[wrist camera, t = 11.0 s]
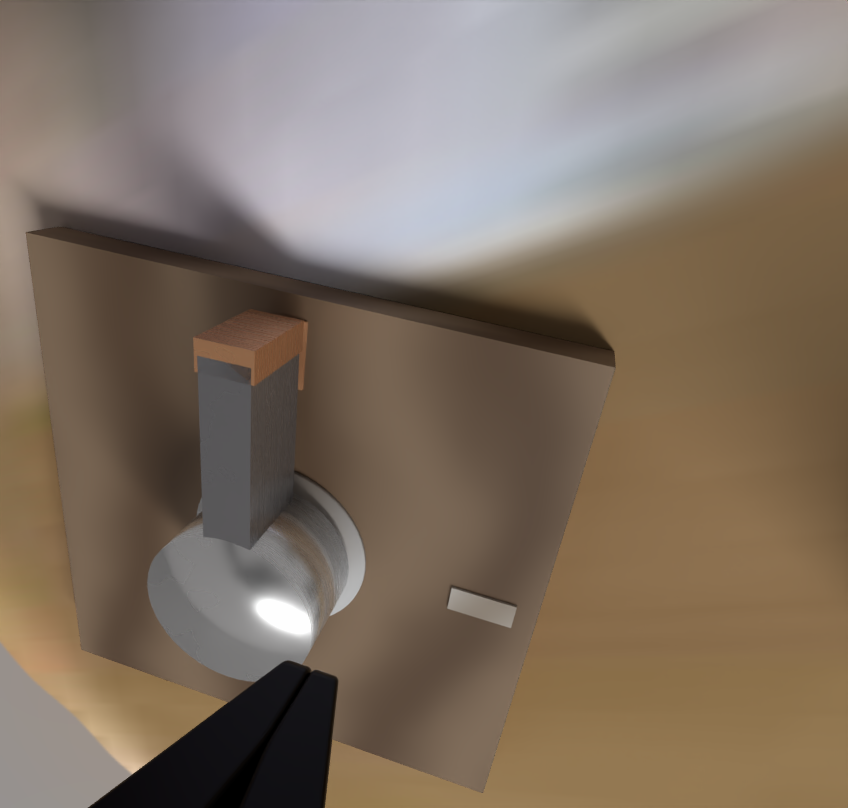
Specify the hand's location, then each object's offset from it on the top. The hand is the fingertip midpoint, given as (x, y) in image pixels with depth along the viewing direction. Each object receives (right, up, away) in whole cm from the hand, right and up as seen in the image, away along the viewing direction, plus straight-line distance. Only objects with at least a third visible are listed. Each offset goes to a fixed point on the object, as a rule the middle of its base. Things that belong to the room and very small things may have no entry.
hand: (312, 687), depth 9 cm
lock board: (-4, -1, +16) cm, 16 cm away
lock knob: (-4, +1, +13) cm, 13 cm away
